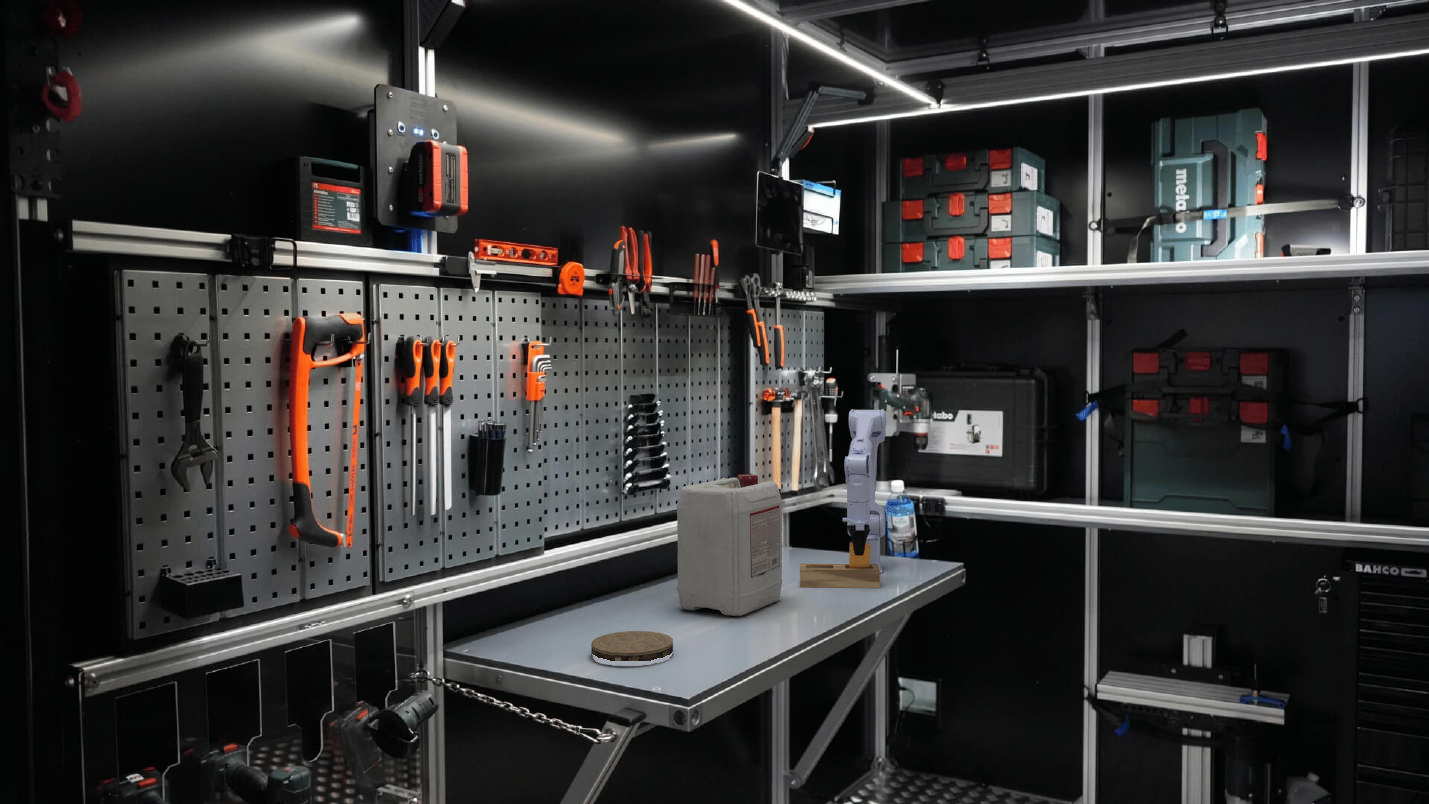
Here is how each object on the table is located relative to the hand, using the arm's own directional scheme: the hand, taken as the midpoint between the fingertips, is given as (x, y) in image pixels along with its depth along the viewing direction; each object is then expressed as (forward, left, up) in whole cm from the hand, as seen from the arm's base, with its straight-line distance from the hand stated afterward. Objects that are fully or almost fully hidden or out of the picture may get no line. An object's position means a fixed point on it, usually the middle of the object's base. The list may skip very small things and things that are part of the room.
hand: (858, 554), depth 258 cm
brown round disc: (+66, -47, -8) cm, 81 cm away
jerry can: (+24, -31, -8) cm, 40 cm away
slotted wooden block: (0, -5, -8) cm, 9 cm away
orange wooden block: (0, 0, -4) cm, 4 cm away
